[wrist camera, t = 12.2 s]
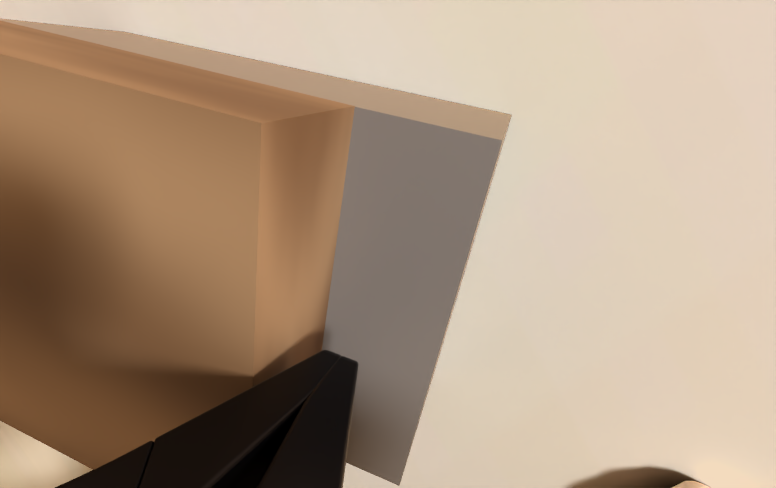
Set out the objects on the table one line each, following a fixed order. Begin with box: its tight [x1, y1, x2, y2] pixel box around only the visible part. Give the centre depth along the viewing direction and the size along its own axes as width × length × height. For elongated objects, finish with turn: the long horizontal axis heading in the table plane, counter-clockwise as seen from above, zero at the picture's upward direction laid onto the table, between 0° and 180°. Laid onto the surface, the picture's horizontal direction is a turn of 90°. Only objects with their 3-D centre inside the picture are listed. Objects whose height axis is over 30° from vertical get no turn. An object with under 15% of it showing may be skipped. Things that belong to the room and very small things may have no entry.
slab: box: [0, 20, 355, 470], centre depth 10 cm, size 10×16×3 cm, turn 79°
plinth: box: [0, 19, 512, 485], centre depth 13 cm, size 10×14×5 cm
